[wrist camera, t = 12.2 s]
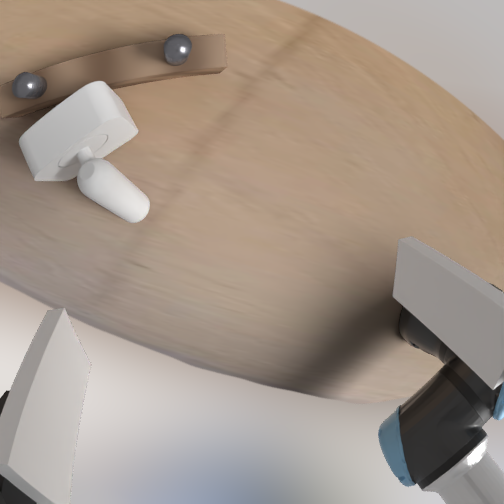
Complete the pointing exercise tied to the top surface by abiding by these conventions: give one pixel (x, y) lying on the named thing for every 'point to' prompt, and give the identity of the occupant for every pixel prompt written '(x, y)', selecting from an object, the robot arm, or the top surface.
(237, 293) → the top surface
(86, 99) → the white knobbed block
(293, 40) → the top surface
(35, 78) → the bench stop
